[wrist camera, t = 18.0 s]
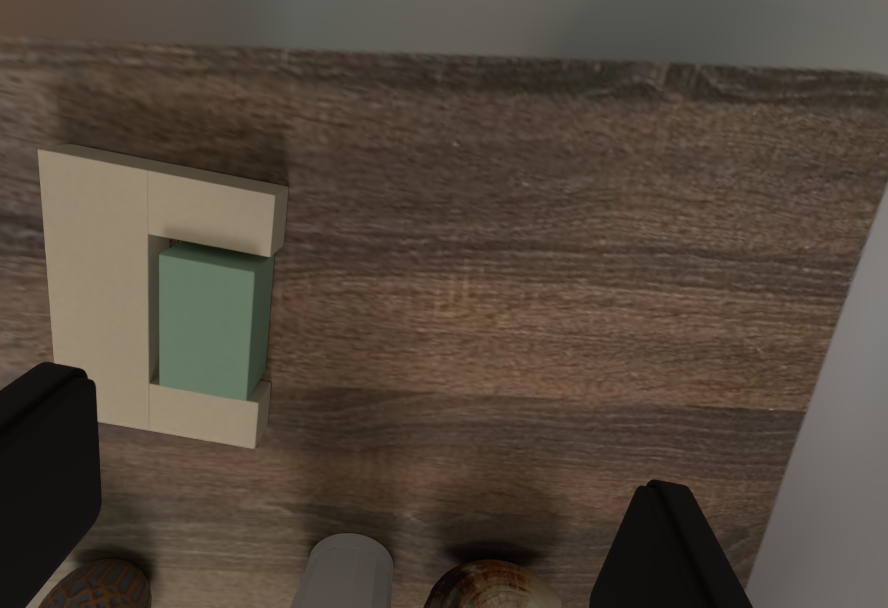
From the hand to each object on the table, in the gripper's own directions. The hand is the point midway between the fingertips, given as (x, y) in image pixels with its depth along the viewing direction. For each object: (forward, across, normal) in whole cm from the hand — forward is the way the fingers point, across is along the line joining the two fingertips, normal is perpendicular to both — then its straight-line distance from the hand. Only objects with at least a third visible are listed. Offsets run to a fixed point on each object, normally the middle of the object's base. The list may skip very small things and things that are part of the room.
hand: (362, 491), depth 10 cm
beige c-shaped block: (+23, +14, +9) cm, 28 cm away
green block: (+23, +11, +9) cm, 27 cm away
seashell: (+23, -9, +26) cm, 36 cm away
